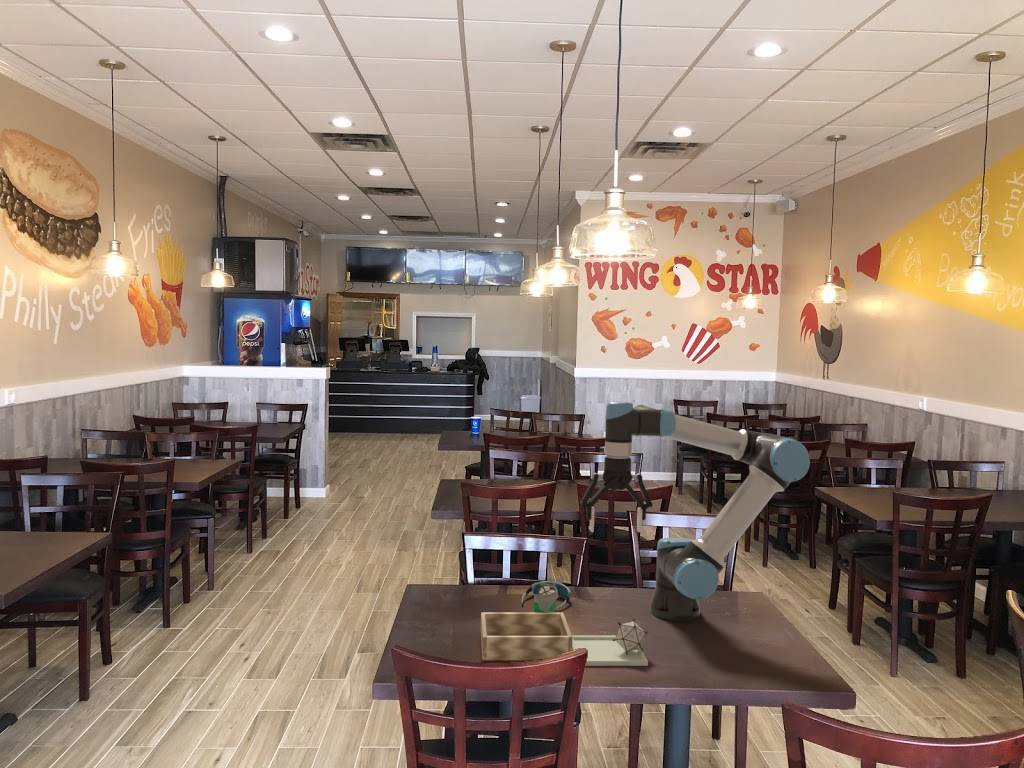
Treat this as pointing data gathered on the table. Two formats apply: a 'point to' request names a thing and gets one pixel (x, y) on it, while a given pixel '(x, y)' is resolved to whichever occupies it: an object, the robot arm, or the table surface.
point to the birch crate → (524, 644)
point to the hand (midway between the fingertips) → (615, 531)
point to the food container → (545, 599)
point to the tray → (607, 651)
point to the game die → (630, 636)
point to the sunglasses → (561, 588)
